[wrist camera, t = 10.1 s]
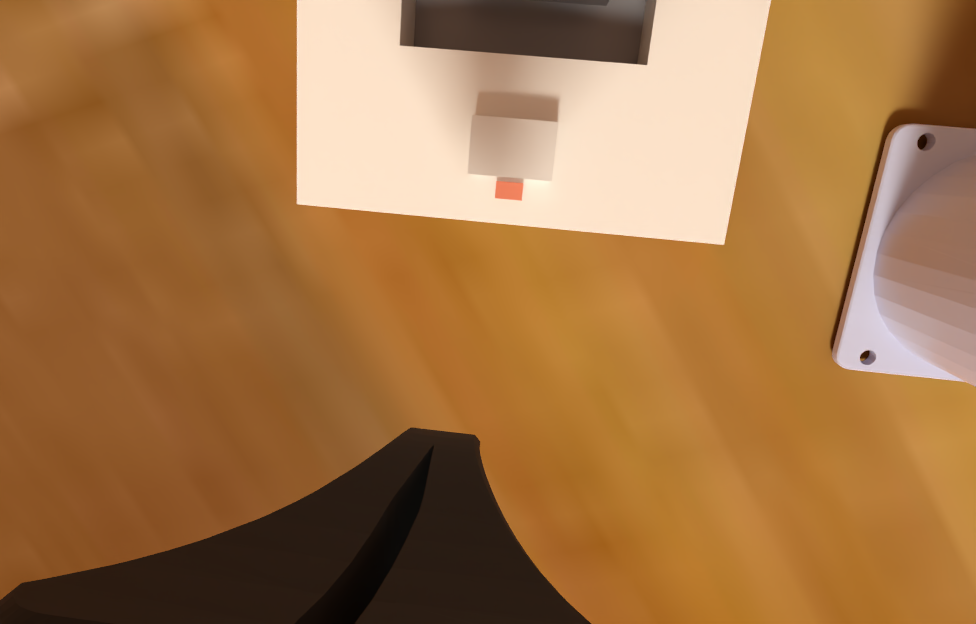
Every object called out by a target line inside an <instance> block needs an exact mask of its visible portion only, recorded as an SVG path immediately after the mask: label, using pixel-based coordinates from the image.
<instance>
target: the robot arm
mask: <svg viewBox="0 0 976 624" xmlns="http://www.w3.org/2000/svg"><path fill="white" fill-rule="evenodd" d="M921 135H925V136H926V138H927V144H926V146H925V148H923V149H922V150H920V149H919V148H918V146H917V141H918V139H919V137H920V136H921ZM866 350H869V351H870V355H869V356H868V358H867V359H865V360H864V361H860V355H861V354H862V353H863V352H864V351H866ZM832 357H833V359H834V361H835V362H836V363H837V364H838V365H840V366H841V367H843V368H846V369H850V370H859V371H869V372H878V373H888V374H897V375H907V376H916V377H926V378H935V379H945V380H954V381H964V382H967V383H969V384H971V385H973V386H975V387H976V129H973V128H961V127H949V126H937V125H924V124H904V125H899V126H897V127H895V128H894V129H893V130H892V131H891V132H890V133H889V134H888V136H887V139H886V142H885V146H884V150H883V153H882V157H881V161H880V165H879V169H878V173H877V177H876V181H875V185H874V189H873V193H872V197H871V201H870V205H869V209H868V213H867V217H866V221H865V225H864V228H863V232H862V236H861V240H860V244H859V248H858V252H857V256H856V260H855V264H854V268H853V272H852V276H851V280H850V284H849V288H848V292H847V296H846V300H845V303H844V307H843V311H842V315H841V319H840V323H839V327H838V331H837V335H836V339H835V343H834V347H833V351H832ZM479 447H480V441H479V440H478V438H477V437H476V436H475V435H471V434H462V433H454V432H445V431H436V430H428V429H419V428H410V429H408V430H407V431H405V432H404V433H402V434H401V435H400V436H398V437H397V438H396V439H394V440H393V441H391V442H390V443H389V444H387V445H386V446H385V447H383V448H382V449H381V450H379V451H378V452H376V453H375V454H373V455H372V456H371V457H369V458H368V459H366V460H365V461H363V462H362V463H361V464H359V465H358V466H356V467H355V468H353V469H351V470H350V471H348V472H347V473H345V474H343V475H342V476H340V477H338V478H337V479H335V480H333V481H332V482H330V483H329V484H327V485H325V486H324V487H322V488H320V489H319V490H317V491H315V492H313V493H312V494H310V495H308V496H306V497H304V498H302V499H300V500H298V501H296V502H294V503H292V504H290V505H288V506H286V507H284V508H282V509H280V510H277V511H275V512H273V513H271V514H269V515H267V516H264V517H262V518H260V519H257V520H255V521H252V522H249V523H247V524H244V525H241V526H239V527H236V528H233V529H231V530H228V531H225V532H223V533H220V534H217V535H215V536H212V537H210V538H207V539H204V540H201V541H198V542H195V543H191V544H188V545H185V546H182V547H178V548H175V549H172V550H169V551H165V552H161V553H157V554H154V555H150V556H146V557H143V558H139V559H135V560H131V561H127V562H123V563H119V564H115V565H111V566H106V567H101V568H96V569H91V570H86V571H81V572H76V573H72V574H67V575H62V576H57V577H52V578H47V579H42V580H36V581H31V582H25V583H21V584H20V585H19V586H17V587H16V588H15V589H14V590H12V591H11V592H10V593H9V594H7V595H6V596H5V597H4V598H3V599H1V600H0V624H591V623H590V622H589V621H588V620H586V619H585V618H584V617H583V616H582V615H581V614H580V613H579V612H578V611H577V610H576V609H575V608H573V607H572V606H571V605H570V604H569V603H568V602H567V601H566V600H565V599H564V598H563V597H562V596H561V595H560V594H559V593H558V591H557V590H556V589H555V588H554V587H553V586H552V585H551V584H550V582H549V581H548V580H547V579H546V578H545V577H544V576H543V575H542V574H541V572H540V571H539V570H538V568H537V567H536V566H535V564H534V563H533V562H532V560H531V559H530V558H529V556H528V555H527V554H526V552H525V551H524V549H523V548H522V546H521V545H520V543H519V542H518V540H517V539H516V537H515V535H514V534H513V532H512V530H511V529H510V527H509V525H508V523H507V522H506V520H505V518H504V516H503V514H502V512H501V510H500V508H499V506H498V504H497V502H496V499H495V497H494V495H493V492H492V490H491V487H490V485H489V482H488V480H487V477H486V474H485V471H484V468H483V464H482V460H481V456H480V450H479Z"/></svg>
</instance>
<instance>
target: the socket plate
mask: <svg viewBox="0 0 976 624" xmlns="http://www.w3.org/2000/svg"><path fill="white" fill-rule="evenodd" d="M770 3H771V0H609V2H608V4H607V6H600V5H586V4H572V3H558V2H545V1H531V0H297V204H301V205H311V206H322V207H332V208H343V209H353V210H364V211H374V212H385V213H395V214H406V215H416V216H427V217H437V218H448V219H458V220H469V221H479V222H490V223H500V224H511V225H521V226H532V227H542V228H553V229H563V230H574V231H584V232H595V233H605V234H616V235H626V236H637V237H647V238H658V239H668V240H679V241H689V242H700V243H710V244H721V245H724V242H725V237H726V231H727V226H728V221H729V216H730V211H731V205H732V200H733V195H734V190H735V185H736V179H737V174H738V169H739V164H740V159H741V154H742V148H743V143H744V138H745V133H746V128H747V122H748V117H749V112H750V107H751V102H752V96H753V91H754V86H755V81H756V76H757V70H758V65H759V60H760V55H761V50H762V44H763V39H764V34H765V29H766V24H767V18H768V13H769V8H770Z"/></svg>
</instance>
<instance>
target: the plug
mask: <svg viewBox="0 0 976 624" xmlns="http://www.w3.org/2000/svg"><path fill="white" fill-rule="evenodd" d="M531 1H545V2H558V3H572V4H586V5H600V6H607V4H608V2H609V0H531Z"/></svg>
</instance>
